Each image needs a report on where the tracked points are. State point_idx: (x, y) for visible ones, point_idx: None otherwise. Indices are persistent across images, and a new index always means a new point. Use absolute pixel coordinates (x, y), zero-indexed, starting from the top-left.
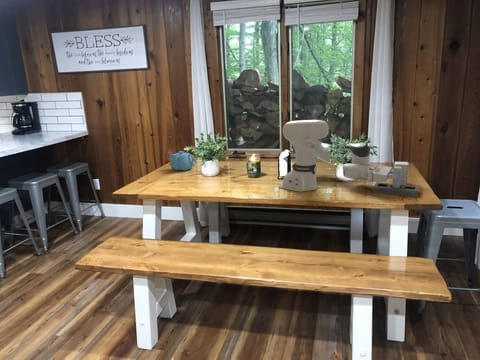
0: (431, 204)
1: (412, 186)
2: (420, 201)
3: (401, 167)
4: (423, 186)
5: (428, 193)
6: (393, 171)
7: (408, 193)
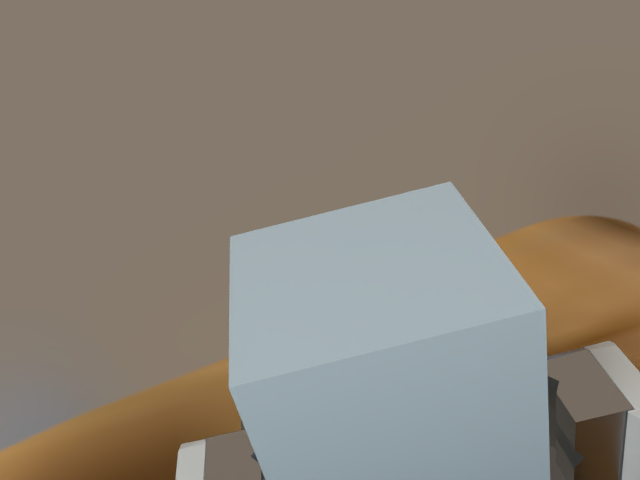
0: (621, 224)
1: None
2: (624, 293)
3: (279, 232)
4: (5, 458)
5: None
6: (541, 420)
7: None
